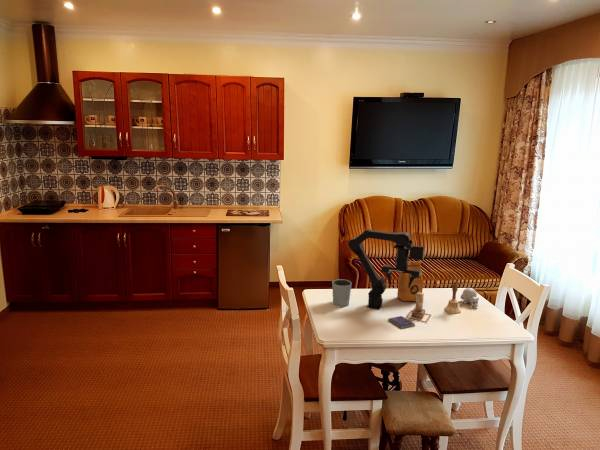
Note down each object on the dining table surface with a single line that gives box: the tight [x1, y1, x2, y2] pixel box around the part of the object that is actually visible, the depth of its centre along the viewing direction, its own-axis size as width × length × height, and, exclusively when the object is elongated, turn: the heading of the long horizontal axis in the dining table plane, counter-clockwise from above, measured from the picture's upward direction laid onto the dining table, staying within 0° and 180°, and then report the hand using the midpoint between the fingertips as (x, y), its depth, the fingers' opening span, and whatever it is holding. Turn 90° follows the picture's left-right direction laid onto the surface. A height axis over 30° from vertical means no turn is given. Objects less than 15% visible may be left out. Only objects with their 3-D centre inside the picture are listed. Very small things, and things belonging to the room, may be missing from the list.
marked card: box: [403, 309, 434, 325], centre depth 223 cm, size 12×12×1 cm
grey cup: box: [331, 278, 352, 308], centre depth 234 cm, size 10×10×12 cm
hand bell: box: [443, 281, 462, 315], centre depth 230 cm, size 8×8×16 cm
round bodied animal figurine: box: [460, 287, 480, 309], centre depth 240 cm, size 7×12×8 cm, turn 10°
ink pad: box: [387, 315, 416, 329], centre depth 214 cm, size 10×8×1 cm
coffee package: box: [396, 260, 424, 302], centre depth 243 cm, size 10×12×22 cm
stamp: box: [411, 292, 426, 319], centre depth 221 cm, size 5×5×12 cm
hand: (399, 286), depth 226 cm, fingers open, 9 cm apart
